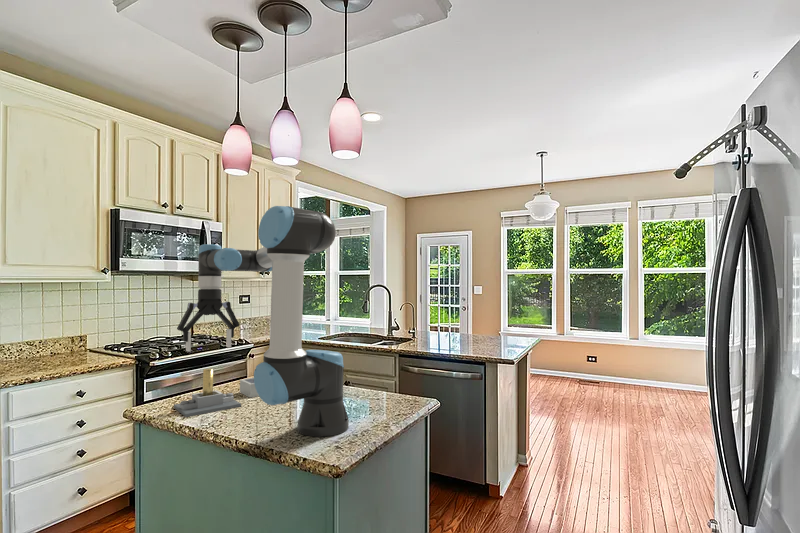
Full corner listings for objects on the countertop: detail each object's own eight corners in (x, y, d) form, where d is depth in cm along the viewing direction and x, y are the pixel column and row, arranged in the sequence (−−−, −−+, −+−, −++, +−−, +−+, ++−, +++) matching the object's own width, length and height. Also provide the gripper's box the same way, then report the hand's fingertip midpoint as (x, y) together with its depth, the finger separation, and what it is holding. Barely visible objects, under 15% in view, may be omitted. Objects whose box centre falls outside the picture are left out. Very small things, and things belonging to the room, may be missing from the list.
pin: (213, 404, 149) (214, 369, 150) (204, 405, 147) (205, 370, 148) (210, 402, 152) (211, 368, 152) (201, 403, 150) (202, 369, 150)
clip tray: (293, 389, 174) (293, 377, 174) (250, 397, 162) (250, 384, 162) (282, 385, 181) (282, 373, 181) (239, 392, 169) (239, 379, 169)
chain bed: (240, 406, 150) (241, 393, 150) (185, 417, 138) (185, 403, 138) (226, 398, 161) (226, 386, 161) (173, 407, 149) (174, 394, 149)
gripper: (240, 288, 162) (240, 344, 161) (167, 288, 145) (166, 351, 144) (248, 288, 156) (248, 346, 155) (174, 288, 140) (172, 354, 139)
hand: (209, 349), depth 150 cm, fingers open, 13 cm apart
